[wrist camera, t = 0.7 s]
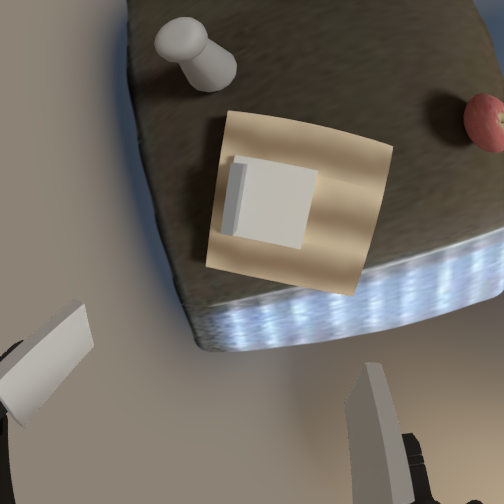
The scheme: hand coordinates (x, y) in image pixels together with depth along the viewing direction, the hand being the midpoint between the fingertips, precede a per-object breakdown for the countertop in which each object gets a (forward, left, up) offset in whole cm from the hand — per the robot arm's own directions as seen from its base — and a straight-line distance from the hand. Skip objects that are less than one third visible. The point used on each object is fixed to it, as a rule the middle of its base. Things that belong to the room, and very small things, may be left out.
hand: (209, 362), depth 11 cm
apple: (-21, +25, -24) cm, 40 cm away
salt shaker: (-18, -9, -24) cm, 31 cm away
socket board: (-4, +3, -23) cm, 24 cm away
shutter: (-4, 0, -20) cm, 21 cm away
